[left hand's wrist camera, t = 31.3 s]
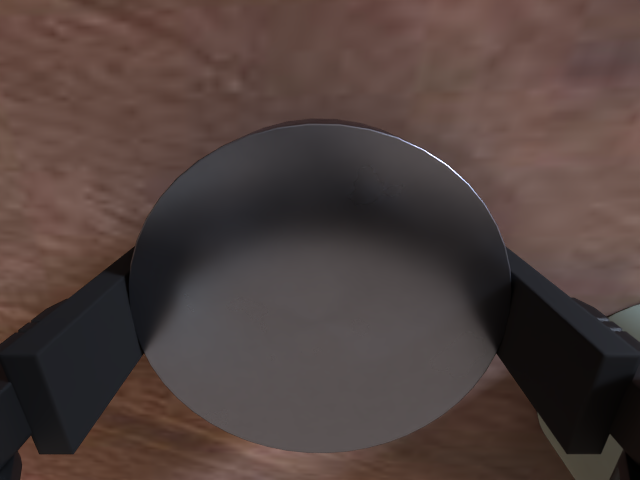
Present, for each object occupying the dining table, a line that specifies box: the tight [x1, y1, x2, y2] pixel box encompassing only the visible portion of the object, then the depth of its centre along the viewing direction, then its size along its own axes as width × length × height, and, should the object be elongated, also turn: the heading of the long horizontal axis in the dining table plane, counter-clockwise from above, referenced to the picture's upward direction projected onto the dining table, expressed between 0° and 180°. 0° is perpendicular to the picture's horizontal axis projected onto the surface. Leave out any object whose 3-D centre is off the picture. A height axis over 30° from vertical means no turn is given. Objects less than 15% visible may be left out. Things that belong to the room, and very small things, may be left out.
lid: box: [129, 119, 512, 453], centre depth 11 cm, size 11×11×2 cm
